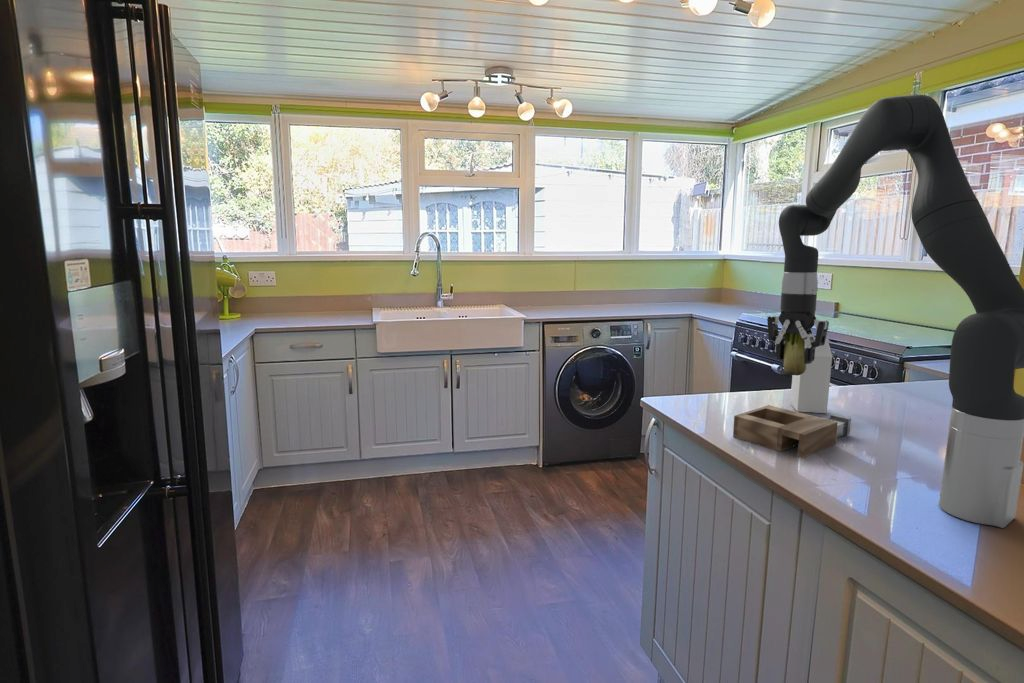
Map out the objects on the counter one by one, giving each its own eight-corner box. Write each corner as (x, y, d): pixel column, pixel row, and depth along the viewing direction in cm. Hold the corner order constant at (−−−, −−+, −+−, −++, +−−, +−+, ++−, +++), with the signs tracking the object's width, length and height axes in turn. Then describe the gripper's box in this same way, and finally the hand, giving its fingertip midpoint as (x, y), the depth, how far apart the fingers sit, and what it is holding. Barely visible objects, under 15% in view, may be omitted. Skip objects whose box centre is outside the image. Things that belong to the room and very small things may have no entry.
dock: (835, 443, 126) (837, 421, 125) (802, 457, 118) (804, 434, 117) (767, 425, 138) (768, 405, 138) (733, 436, 130) (734, 415, 130)
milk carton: (827, 413, 147) (833, 341, 144) (797, 412, 149) (803, 340, 145) (818, 405, 154) (824, 336, 151) (789, 404, 155) (795, 335, 152)
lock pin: (849, 434, 131) (851, 418, 130) (820, 446, 123) (822, 429, 123) (831, 429, 134) (833, 414, 133) (802, 441, 127) (803, 424, 126)
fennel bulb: (779, 371, 141) (782, 323, 139) (800, 372, 140) (804, 323, 138) (786, 376, 135) (790, 326, 134) (809, 377, 135) (812, 326, 133)
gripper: (761, 290, 138) (757, 358, 141) (822, 294, 127) (816, 368, 130) (778, 289, 143) (774, 355, 145) (838, 292, 131) (832, 363, 134)
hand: (794, 360), depth 137 cm, fingers closed on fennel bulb, 6 cm apart
